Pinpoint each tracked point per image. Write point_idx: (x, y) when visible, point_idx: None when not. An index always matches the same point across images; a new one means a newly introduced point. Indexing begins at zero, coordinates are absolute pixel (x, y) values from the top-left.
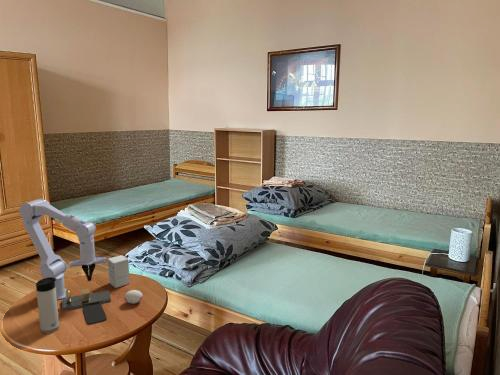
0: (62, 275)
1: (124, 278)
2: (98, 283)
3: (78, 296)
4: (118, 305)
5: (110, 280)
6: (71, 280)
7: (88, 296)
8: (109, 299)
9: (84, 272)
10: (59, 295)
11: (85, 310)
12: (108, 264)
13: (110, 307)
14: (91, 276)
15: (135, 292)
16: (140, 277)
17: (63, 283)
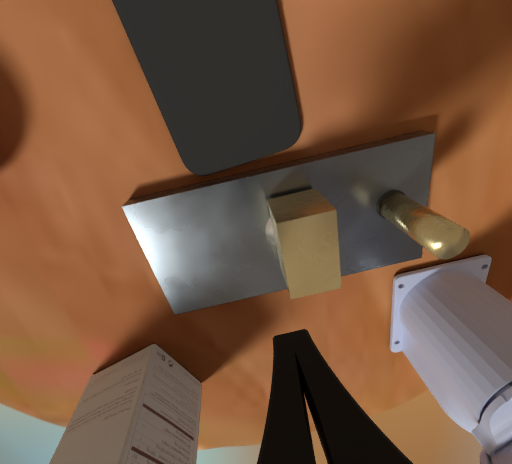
0: (500, 418)
1: (94, 404)
2: (253, 382)
3: None
4: (46, 130)
5: (188, 394)
6: (366, 404)
7: (276, 211)
8: (131, 204)
9: (407, 458)
10: (435, 284)
11: (277, 83)
12: None
13: (100, 109)
14: (274, 384)
15: None
16: (59, 418)
17: (451, 355)
